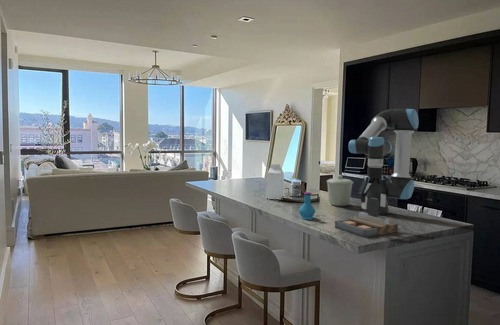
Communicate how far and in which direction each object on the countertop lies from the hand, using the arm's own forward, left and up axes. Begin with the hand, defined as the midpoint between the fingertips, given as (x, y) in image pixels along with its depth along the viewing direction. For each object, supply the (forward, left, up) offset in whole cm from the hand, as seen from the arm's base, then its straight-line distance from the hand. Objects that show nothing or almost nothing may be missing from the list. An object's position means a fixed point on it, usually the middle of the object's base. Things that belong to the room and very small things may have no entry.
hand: (373, 207), depth 197 cm
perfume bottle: (+16, -35, -11) cm, 40 cm away
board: (0, 0, -11) cm, 11 cm away
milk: (-2, -98, -11) cm, 99 cm away
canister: (-29, -58, -11) cm, 66 cm away
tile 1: (+12, -5, -10) cm, 16 cm away
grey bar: (0, 0, -7) cm, 7 cm away
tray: (+12, 0, -11) cm, 17 cm away
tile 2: (+11, +5, -10) cm, 16 cm away
